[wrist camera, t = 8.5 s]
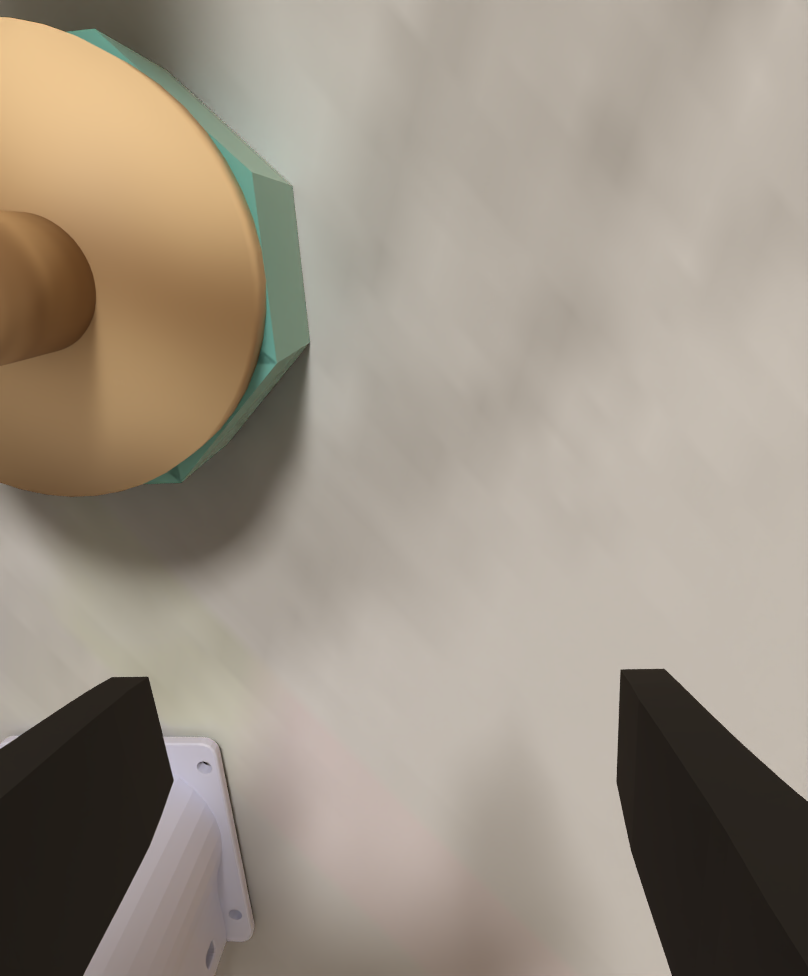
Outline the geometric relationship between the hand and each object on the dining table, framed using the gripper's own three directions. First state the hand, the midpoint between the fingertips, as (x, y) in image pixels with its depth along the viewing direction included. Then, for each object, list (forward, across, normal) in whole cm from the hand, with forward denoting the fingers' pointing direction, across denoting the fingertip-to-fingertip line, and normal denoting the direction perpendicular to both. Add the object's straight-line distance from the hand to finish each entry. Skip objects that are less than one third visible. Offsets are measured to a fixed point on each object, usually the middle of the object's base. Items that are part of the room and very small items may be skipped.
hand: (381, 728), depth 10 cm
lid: (+6, +7, -7) cm, 12 cm away
